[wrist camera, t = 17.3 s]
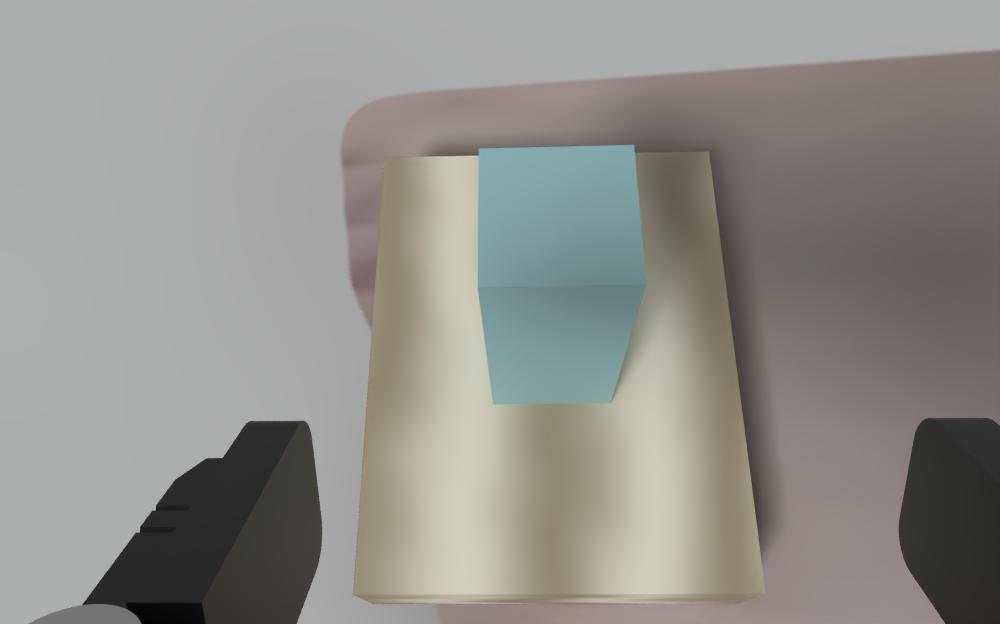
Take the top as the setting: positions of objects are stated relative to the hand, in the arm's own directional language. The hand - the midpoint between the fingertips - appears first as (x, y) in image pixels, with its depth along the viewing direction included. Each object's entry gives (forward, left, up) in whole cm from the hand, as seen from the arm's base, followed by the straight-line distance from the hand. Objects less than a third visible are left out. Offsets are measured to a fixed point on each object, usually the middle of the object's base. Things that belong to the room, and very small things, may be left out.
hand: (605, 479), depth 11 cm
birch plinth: (0, -9, -22) cm, 24 cm away
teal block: (0, -9, -18) cm, 20 cm away
